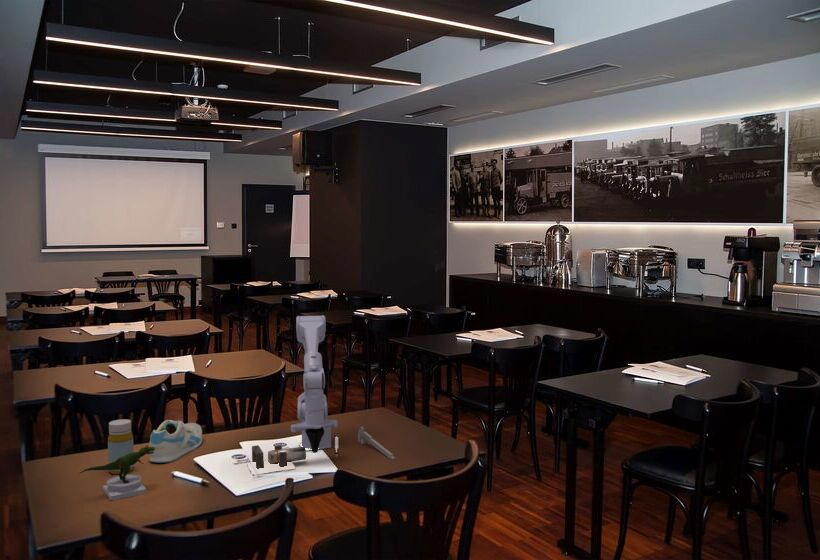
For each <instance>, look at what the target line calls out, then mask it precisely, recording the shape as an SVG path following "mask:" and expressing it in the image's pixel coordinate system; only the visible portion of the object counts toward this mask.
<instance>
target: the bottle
mask: <svg viewBox="0 0 820 560" xmlns="http://www.w3.org/2000/svg"><path fill="white" fill-rule="evenodd" d="M108 433H109V434H108V437H107V457H108V458H107V459H108V464H109V463H112V462H114V461H116V460H117V459H118V458H120V457H123V456H126V455H127V454H129V453H133V452H134V449H135V447H134V435H133V432H132V420H131V419H126V418H125V419H124V418H123V419H121V418H120V419H116V420H115V419H114V420H112V421H109V422H108ZM134 468H135V464H134V465H131V466H130V471H129V473H131V472H132V471H133V470H134ZM108 472H109V473H111V474H112V475H119V473H120V470H108ZM123 473H124V472H123ZM123 473H122V475H123Z"/></svg>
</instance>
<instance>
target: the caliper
mask: <svg viewBox="0 0 820 560" xmlns="http://www.w3.org/2000/svg"><path fill="white" fill-rule="evenodd" d="M365 430H366V429H365V427H364V426H360V427H359V429H358V432H357V444H360V445H361V446H362V445H365V443H367V445H372V446H373V447H374V448H375V449H377V450H378V451H379V452H380V453H382V454H383V455H384V456H386V457H387V458H389V459H391V460H395V459H396V458H395V456H394V454H393V453H392V452H391V451H389V450H388V449H387V448H385V447H384V446H383V445H381V444H380V443H379V442H378V441H376V440H375V439H374V438H373V436H372V435H370V433H368V432H367V431H365Z"/></svg>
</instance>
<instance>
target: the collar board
mask: <svg viewBox="0 0 820 560" xmlns="http://www.w3.org/2000/svg"><path fill="white" fill-rule="evenodd" d="M281 449H283V445H282V444H279V445H278V444H277V445H274V450H281ZM264 461H265V460H264V452H263V450H262V448H261V447H260V445H259V444H258V445H251V462H256V468H257V469H259V468H264ZM279 466H280V467H284V466H287V452H286V451H283V452H279Z"/></svg>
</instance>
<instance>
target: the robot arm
mask: <svg viewBox="0 0 820 560" xmlns="http://www.w3.org/2000/svg"><path fill="white" fill-rule="evenodd" d="M295 321H296V322H295V323H296V324H295V329H296V330H295V331H296V339H297V342H298V343H301V344H302V346H303V349H304V356H303V366H304V367H303V369H304V372H303V378H302V379H303V381H302V382H303V391H304V392H302V393H301V394H300V395H299V396H298V397H297V420H299V421H301V422H299V423H295V424H290V431H291V433H296V432H301V443H302V446H303V447H305V448H308V449H309V448H310V449H312V450H311V452H312V453H314V454H315V453H318V452H319V450H322V449H323V450H324V449H330V448H332V428H338V422H339V421H338V420H336V419H328V412H329V411H328V402H327V396H326V394H324V389H325V388H326V387H325V386H326V376H325V371H324V368H323V356H322V354H321V352H318V351H319V344H320V343H321V342H323V341H324V340H325V337H326V328H327V325H326V323H327V322H326V316H325V315H323V314H322V315H297V316H296V319H295ZM318 448H319V449H318Z"/></svg>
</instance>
